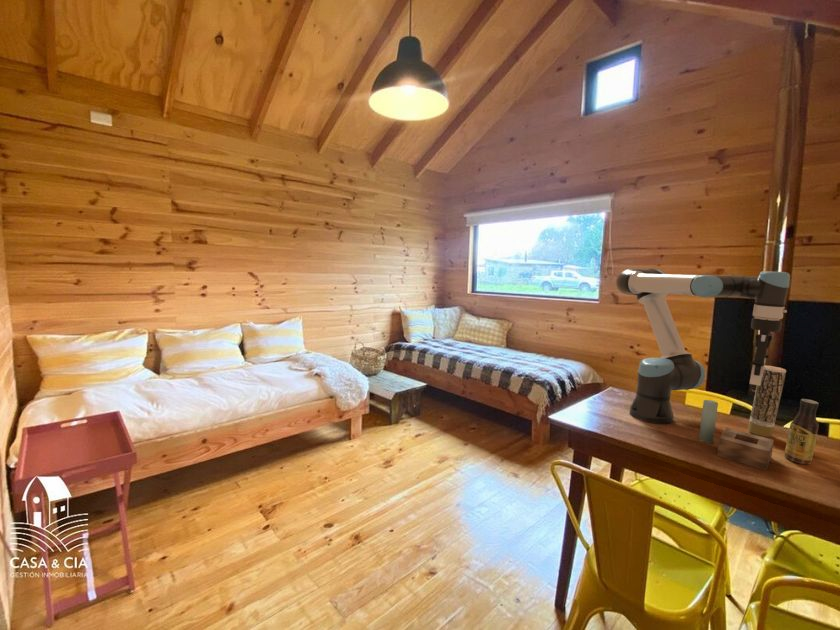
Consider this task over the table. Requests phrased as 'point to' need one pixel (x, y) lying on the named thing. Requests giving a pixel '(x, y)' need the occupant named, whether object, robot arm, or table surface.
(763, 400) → the bark-textured cylinder
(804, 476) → the table surface
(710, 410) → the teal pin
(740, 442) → the bore block
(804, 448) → the sauce bottle
